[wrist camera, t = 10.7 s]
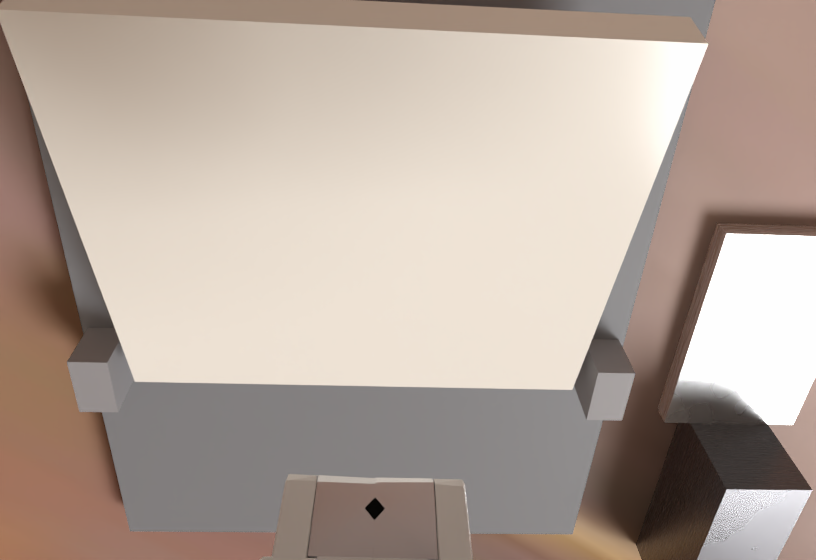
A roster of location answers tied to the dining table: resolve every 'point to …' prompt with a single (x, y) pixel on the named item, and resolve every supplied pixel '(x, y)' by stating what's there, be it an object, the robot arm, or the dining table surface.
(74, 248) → the board
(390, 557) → the robot arm
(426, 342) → the tile
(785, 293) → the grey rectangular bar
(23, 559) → the dining table surface
